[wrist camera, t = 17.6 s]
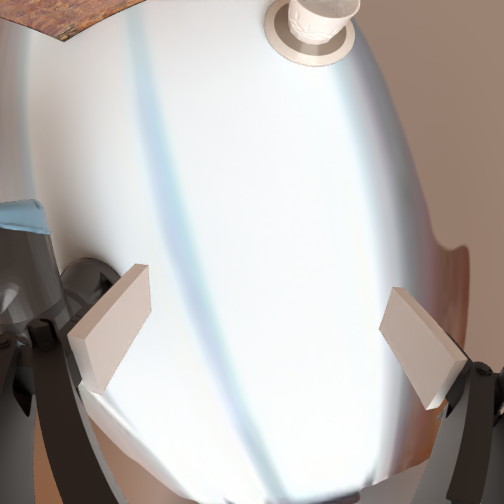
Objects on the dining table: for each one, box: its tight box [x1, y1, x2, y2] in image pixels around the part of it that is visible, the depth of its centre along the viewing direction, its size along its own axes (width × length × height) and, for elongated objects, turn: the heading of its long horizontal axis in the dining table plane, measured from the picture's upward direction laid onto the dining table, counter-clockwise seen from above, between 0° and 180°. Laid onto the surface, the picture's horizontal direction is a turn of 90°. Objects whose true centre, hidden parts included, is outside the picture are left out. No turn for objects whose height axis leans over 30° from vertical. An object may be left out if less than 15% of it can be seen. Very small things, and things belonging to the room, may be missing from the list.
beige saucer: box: [264, 0, 355, 67], centre depth 30 cm, size 13×13×2 cm
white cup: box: [288, 0, 360, 45], centre depth 24 cm, size 8×8×10 cm
